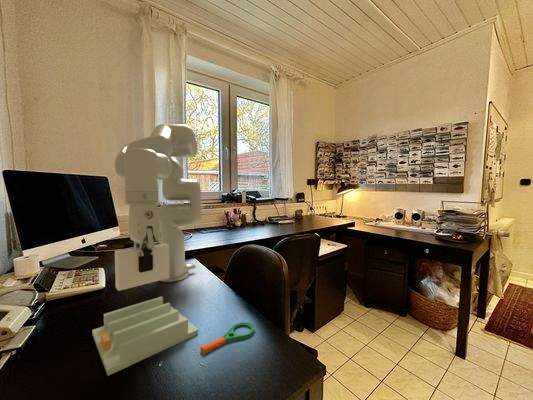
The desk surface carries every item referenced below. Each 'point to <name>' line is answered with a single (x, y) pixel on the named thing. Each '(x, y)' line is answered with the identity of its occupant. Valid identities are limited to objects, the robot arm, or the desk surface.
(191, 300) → the desk surface
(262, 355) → the desk surface
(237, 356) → the desk surface
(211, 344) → the magnifying glass
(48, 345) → the desk surface
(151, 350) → the rack
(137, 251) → the panel
